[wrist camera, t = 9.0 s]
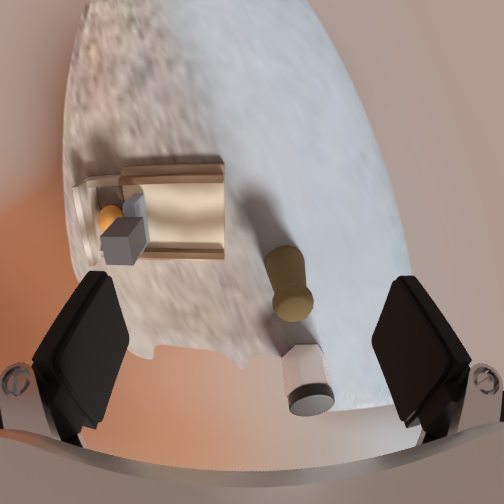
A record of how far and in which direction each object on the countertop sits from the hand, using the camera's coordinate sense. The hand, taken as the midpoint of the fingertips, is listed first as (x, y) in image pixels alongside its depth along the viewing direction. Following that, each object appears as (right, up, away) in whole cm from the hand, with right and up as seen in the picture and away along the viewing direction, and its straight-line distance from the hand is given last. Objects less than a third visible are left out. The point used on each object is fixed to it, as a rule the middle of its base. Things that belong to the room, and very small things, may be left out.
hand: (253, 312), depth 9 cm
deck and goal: (-14, +7, +30) cm, 34 cm away
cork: (+5, 0, +35) cm, 35 cm away
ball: (-20, +7, +28) cm, 35 cm away
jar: (+10, -19, +46) cm, 51 cm away
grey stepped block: (-15, +7, +29) cm, 33 cm away
